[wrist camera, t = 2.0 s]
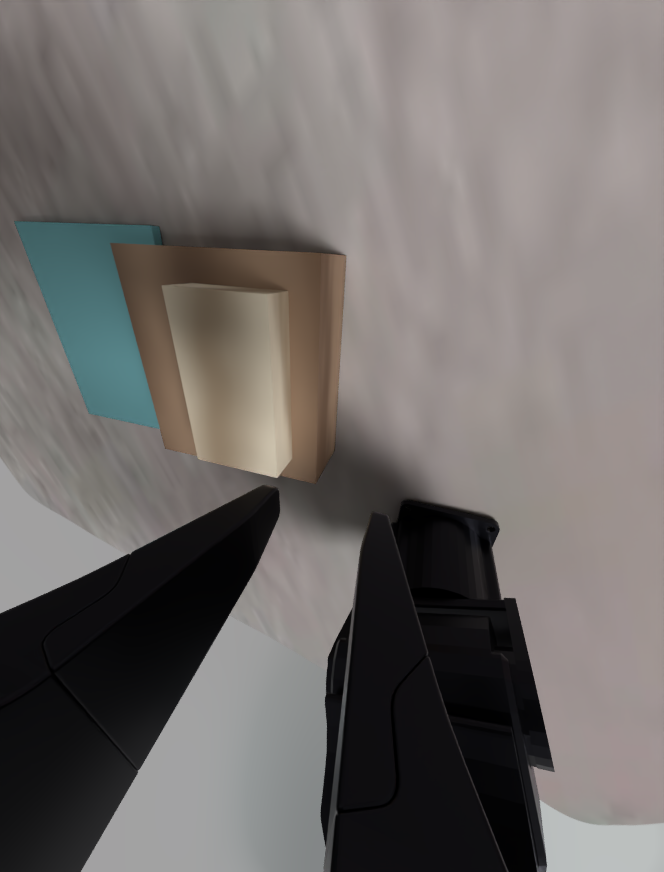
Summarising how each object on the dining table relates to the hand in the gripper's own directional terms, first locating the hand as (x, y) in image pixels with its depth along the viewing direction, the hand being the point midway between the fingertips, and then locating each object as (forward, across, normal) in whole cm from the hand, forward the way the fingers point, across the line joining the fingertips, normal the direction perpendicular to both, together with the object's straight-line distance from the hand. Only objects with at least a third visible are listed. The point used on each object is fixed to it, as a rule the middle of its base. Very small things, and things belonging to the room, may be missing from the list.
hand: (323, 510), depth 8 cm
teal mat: (+12, +20, 0) cm, 23 cm away
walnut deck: (+12, +8, 0) cm, 15 cm away
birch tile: (+8, +7, 0) cm, 11 cm away
